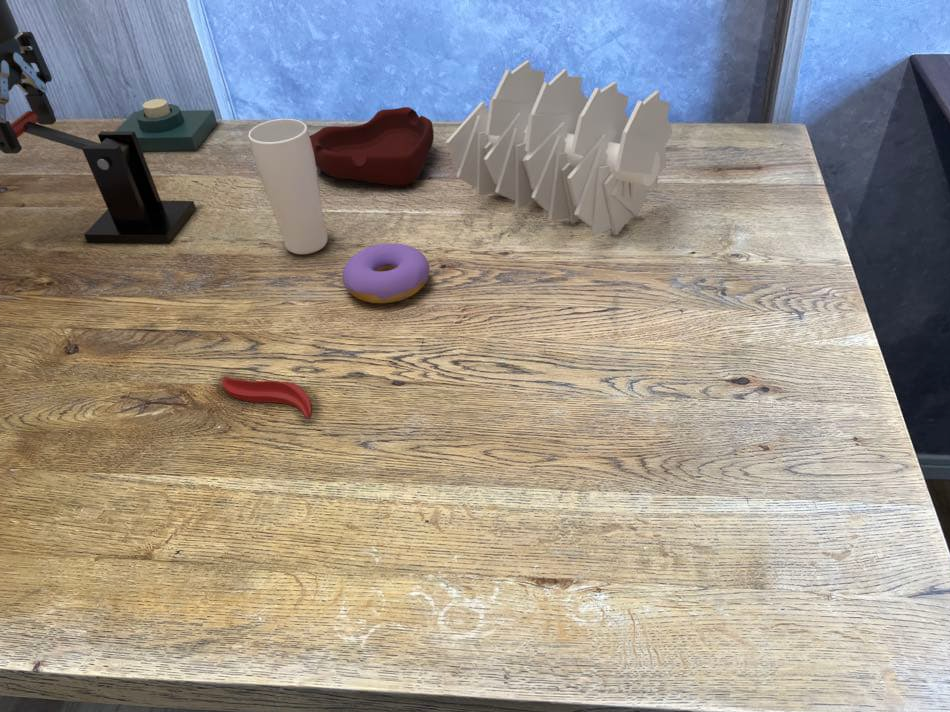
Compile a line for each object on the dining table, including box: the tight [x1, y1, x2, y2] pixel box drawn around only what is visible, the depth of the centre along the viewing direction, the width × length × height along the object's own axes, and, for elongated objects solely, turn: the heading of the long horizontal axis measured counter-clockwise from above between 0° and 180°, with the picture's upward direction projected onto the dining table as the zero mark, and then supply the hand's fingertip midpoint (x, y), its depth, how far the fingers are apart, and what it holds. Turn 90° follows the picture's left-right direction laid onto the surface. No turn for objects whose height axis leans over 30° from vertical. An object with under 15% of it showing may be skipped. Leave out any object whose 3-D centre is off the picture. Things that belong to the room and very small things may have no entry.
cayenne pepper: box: [221, 376, 312, 420], centre depth 81 cm, size 12×5×2 cm, turn 52°
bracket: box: [81, 130, 197, 244], centre depth 104 cm, size 11×9×12 cm
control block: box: [115, 103, 218, 152], centre depth 127 cm, size 13×10×4 cm
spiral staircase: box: [444, 60, 674, 237], centre depth 101 cm, size 18×18×25 cm
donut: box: [342, 242, 430, 304], centre depth 94 cm, size 10×9×5 cm
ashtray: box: [309, 106, 435, 188], centre depth 116 cm, size 18×16×5 cm
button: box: [142, 98, 171, 118], centre depth 125 cm, size 4×4×2 cm
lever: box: [10, 110, 130, 164], centre depth 100 cm, size 13×5×2 cm, turn 86°
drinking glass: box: [247, 118, 329, 255], centre depth 98 cm, size 7×7×15 cm
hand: (30, 137), depth 101 cm, fingers open, 7 cm apart
